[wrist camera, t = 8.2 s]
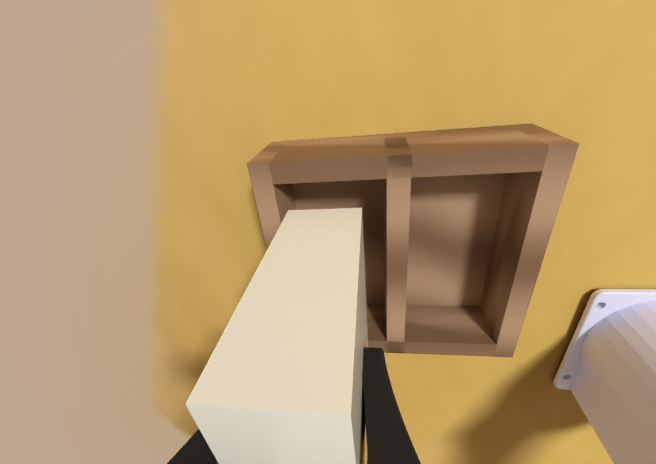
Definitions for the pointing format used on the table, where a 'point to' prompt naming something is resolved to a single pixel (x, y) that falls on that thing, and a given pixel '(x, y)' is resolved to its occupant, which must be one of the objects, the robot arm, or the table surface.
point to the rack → (432, 225)
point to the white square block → (293, 351)
